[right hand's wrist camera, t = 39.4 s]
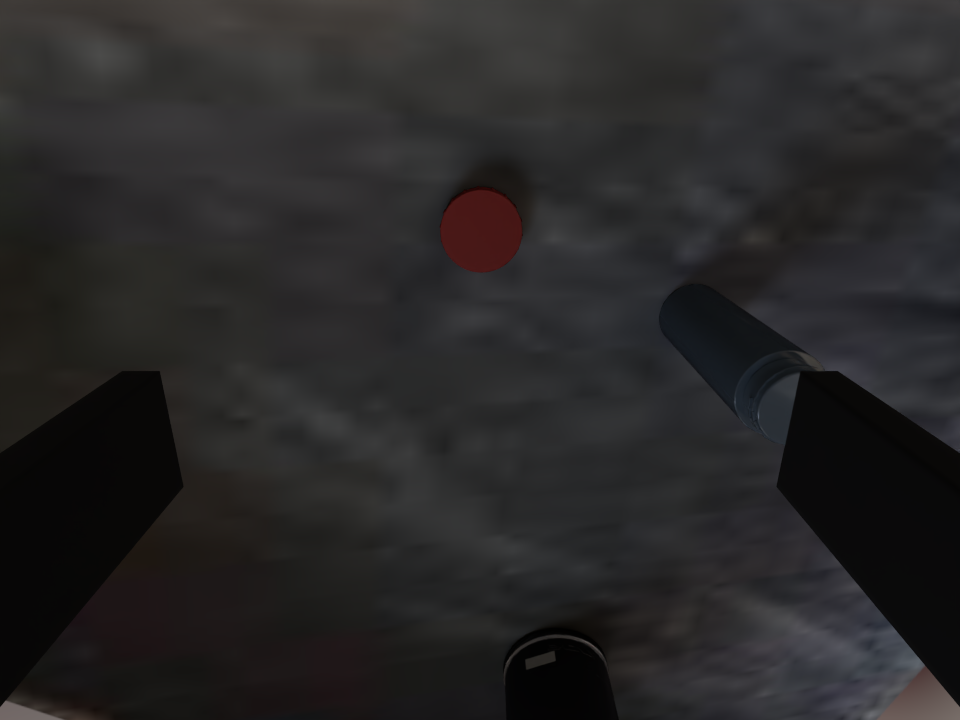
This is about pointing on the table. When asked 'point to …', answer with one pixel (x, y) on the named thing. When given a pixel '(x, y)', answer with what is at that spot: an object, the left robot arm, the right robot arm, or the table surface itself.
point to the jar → (737, 357)
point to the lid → (481, 229)
